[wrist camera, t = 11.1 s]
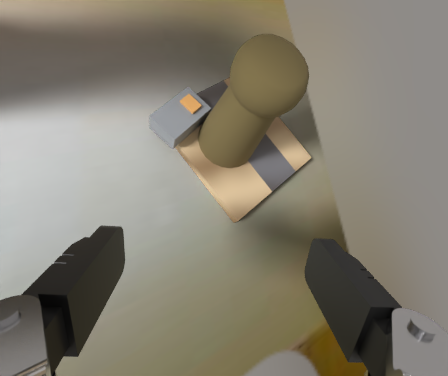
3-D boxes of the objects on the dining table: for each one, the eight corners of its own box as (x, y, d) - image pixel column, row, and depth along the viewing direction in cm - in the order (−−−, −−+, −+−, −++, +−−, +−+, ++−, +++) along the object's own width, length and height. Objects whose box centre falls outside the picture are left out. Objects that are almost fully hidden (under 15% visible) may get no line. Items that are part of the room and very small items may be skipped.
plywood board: (155, 121, 23) (155, 114, 22) (238, 78, 28) (242, 71, 27) (233, 222, 23) (238, 221, 22) (305, 161, 28) (311, 157, 27)
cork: (204, 107, 24) (242, 1, 14) (256, 125, 25) (326, 40, 15) (192, 158, 22) (226, 77, 12) (249, 175, 23) (323, 115, 13)
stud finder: (149, 127, 22) (149, 113, 20) (185, 99, 24) (188, 84, 22) (172, 149, 22) (175, 138, 20) (206, 119, 24) (212, 106, 22)
